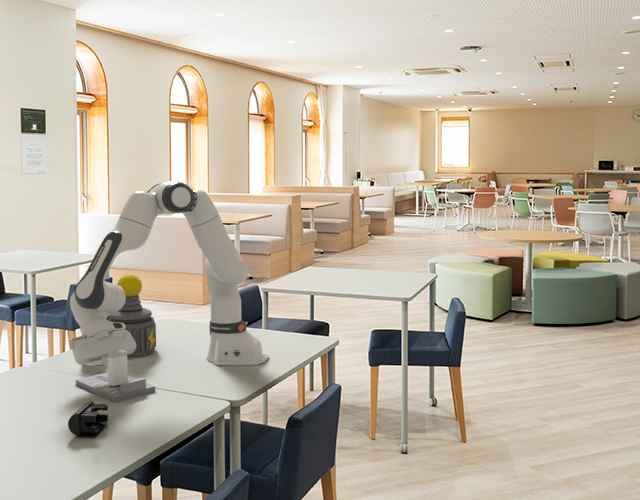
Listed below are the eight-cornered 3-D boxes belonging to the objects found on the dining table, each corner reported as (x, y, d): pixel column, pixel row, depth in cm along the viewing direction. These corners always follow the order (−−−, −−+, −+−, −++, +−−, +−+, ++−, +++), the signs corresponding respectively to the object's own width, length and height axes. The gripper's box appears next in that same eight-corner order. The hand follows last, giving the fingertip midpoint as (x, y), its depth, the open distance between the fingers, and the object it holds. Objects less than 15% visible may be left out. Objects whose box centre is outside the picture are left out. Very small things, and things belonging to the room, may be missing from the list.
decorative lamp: (94, 355, 252) (91, 276, 248) (126, 343, 269) (124, 269, 266) (137, 361, 245) (134, 279, 242) (166, 348, 263) (164, 272, 259)
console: (75, 384, 218) (75, 370, 218) (114, 375, 228) (114, 361, 228) (115, 402, 202) (114, 387, 202) (155, 391, 212) (155, 377, 212)
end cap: (83, 424, 185) (82, 400, 184) (108, 424, 185) (108, 400, 184) (68, 438, 175) (67, 413, 174) (95, 439, 175) (94, 414, 174)
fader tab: (107, 383, 213) (106, 352, 212) (122, 380, 217) (122, 349, 216) (113, 386, 211) (112, 355, 209) (128, 382, 214) (127, 351, 213)
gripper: (70, 333, 211) (87, 370, 205) (128, 322, 226) (145, 356, 220) (64, 344, 214) (80, 381, 209) (121, 333, 229) (138, 367, 224)
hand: (114, 368), depth 215 cm, fingers closed, pressing on fader tab
